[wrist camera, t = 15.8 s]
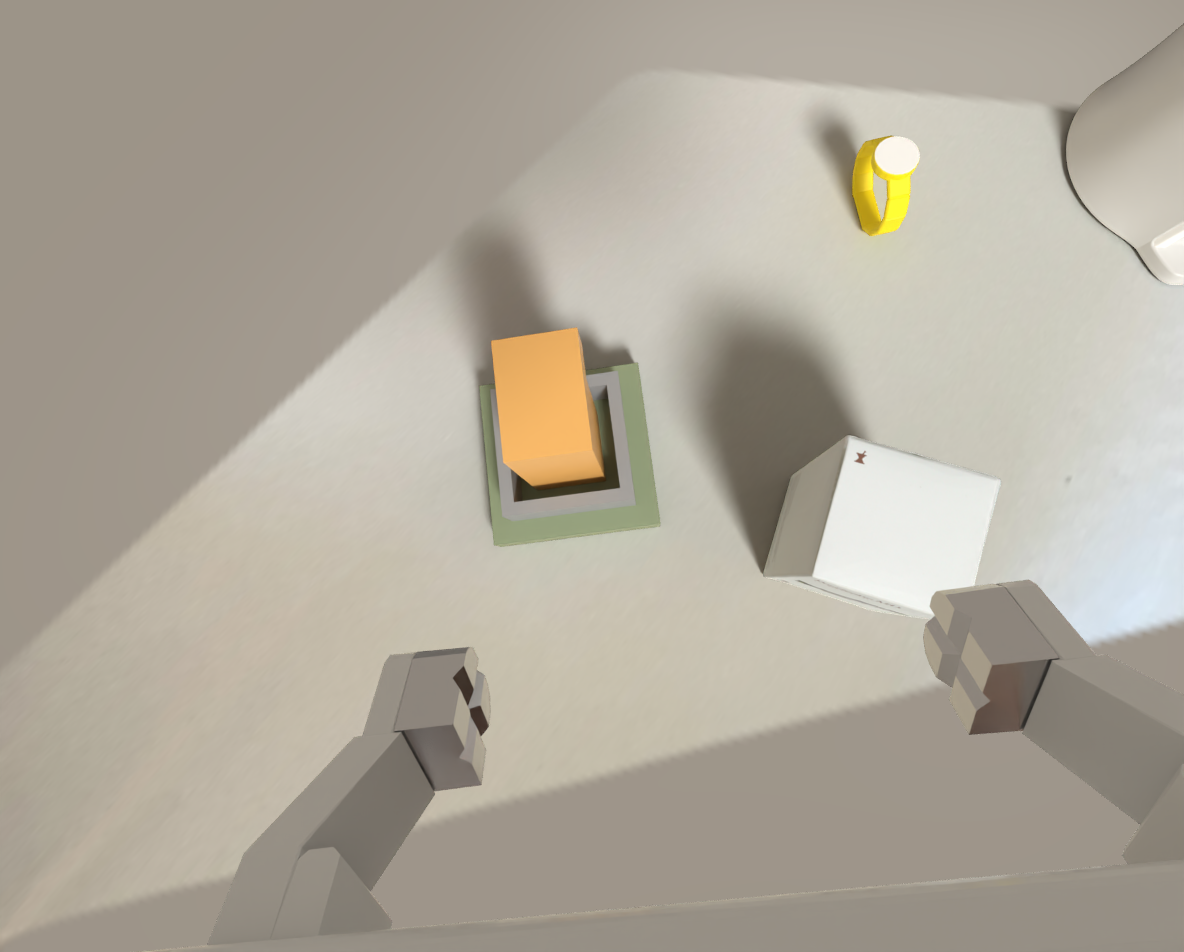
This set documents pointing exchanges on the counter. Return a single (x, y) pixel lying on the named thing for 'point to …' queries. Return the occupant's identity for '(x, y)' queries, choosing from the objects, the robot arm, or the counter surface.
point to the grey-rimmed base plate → (583, 506)
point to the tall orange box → (547, 410)
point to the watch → (889, 163)
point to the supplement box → (882, 527)
